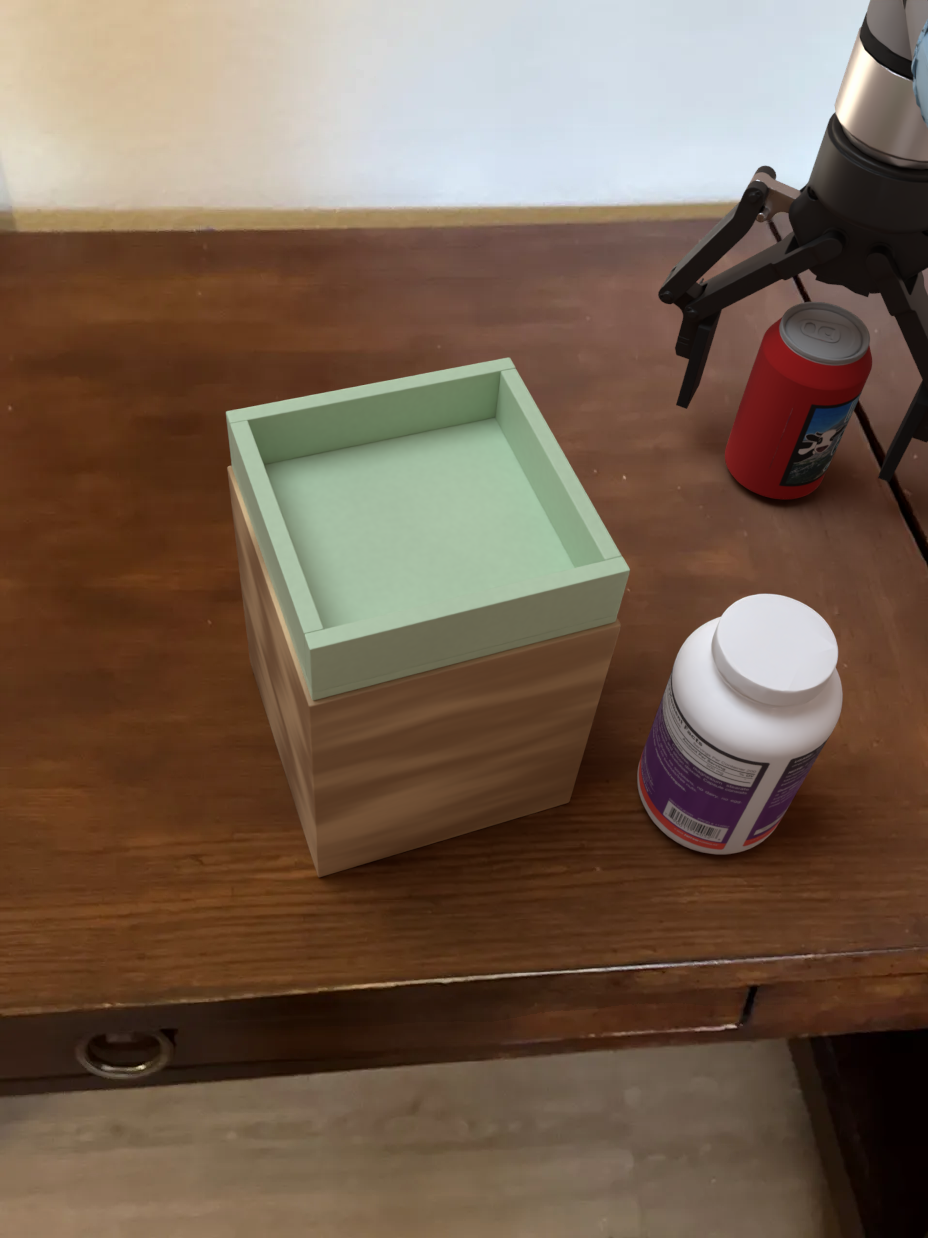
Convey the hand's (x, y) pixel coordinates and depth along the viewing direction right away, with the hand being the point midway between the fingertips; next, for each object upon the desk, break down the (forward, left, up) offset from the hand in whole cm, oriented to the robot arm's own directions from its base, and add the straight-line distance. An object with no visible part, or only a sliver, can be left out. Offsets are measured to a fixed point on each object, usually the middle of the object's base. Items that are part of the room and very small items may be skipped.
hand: (786, 430), depth 79 cm
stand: (-12, +30, -4) cm, 33 cm away
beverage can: (0, 0, -4) cm, 4 cm away
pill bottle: (-21, +16, -4) cm, 27 cm away
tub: (-12, +30, +12) cm, 35 cm away
